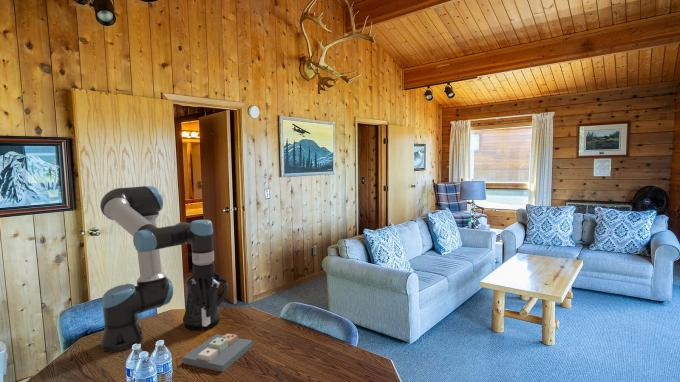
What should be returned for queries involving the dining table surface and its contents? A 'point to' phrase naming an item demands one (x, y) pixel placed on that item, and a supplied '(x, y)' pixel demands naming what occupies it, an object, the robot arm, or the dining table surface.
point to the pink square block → (230, 338)
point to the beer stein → (192, 312)
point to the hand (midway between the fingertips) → (206, 324)
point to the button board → (223, 358)
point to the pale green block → (219, 344)
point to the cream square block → (208, 354)
